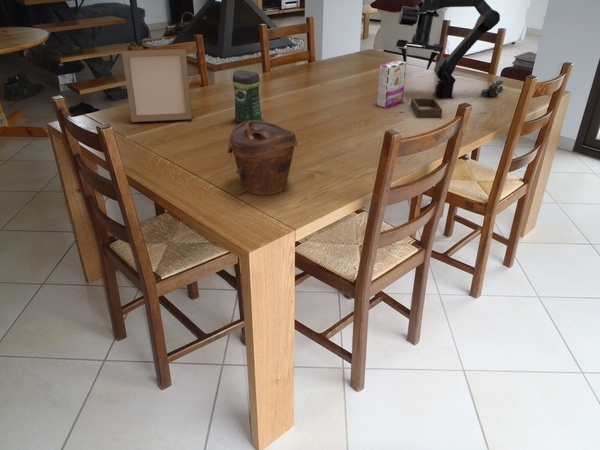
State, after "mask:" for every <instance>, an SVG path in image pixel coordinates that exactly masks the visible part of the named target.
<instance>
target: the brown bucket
mask: <svg viewBox="0 0 600 450" xmlns="http://www.w3.org/2000/svg"><path fill="white" fill-rule="evenodd" d="M227 147H228V148H227V154H230V157H231V158H232V154H233V157H234V160H235V164H236V168H237V170H236V171H235V172H236V174H238V175H239V178H240V182H241V185H242V187H243V189H244V190H246V191H247V192H249V193H251V194H254V195H258V196H269V195H275V194H277V193H280V192H282V191H284V189H285V188H286V187H287V185H288V184H287V183H288V179H289V178H288V177H289V176H290V175H289V174H290V170H291V165H292V161H293V156H294V151H295V147H298V148H299V145H298V141H297V137H296V134H295V132H293V131H291V130H288V129H285V128H283V127H281V126H279V125H277V124H274V123H271V122H267V121H263V120H261V121H246V122H243V123H239V124H238V125H237V126H236V127H234V128H233V130H232V131H231V133H230V135H229V138H228V146H227Z"/></svg>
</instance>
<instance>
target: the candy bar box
mask: <svg viewBox="0 0 600 450" xmlns="http://www.w3.org/2000/svg"><path fill="white" fill-rule="evenodd" d="M406 70H407V61H406V62H404V61H402V60H394V61H390V62H387V63H383V64H380V65H379V73H378V87H377V102H376V105H377V106H378V107H381V108H384V109H387V108H390V107H393V106H395V105H399V104H401V103H403V101H404V90H405V80H406V72H407V71H406Z"/></svg>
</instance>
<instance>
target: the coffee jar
mask: <svg viewBox="0 0 600 450" xmlns="http://www.w3.org/2000/svg"><path fill="white" fill-rule="evenodd" d="M260 85H261V79H260V74H259V73H258V72H253V71H249V70H243V69H238V70H236V71H234V72H233V74H232V86H233V89H234V90H233V91H234V105H235V106H234V120H235V121H236V122H237V123H239V124H241V123H243V122H246V121H262V111H261V101H260Z"/></svg>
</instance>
